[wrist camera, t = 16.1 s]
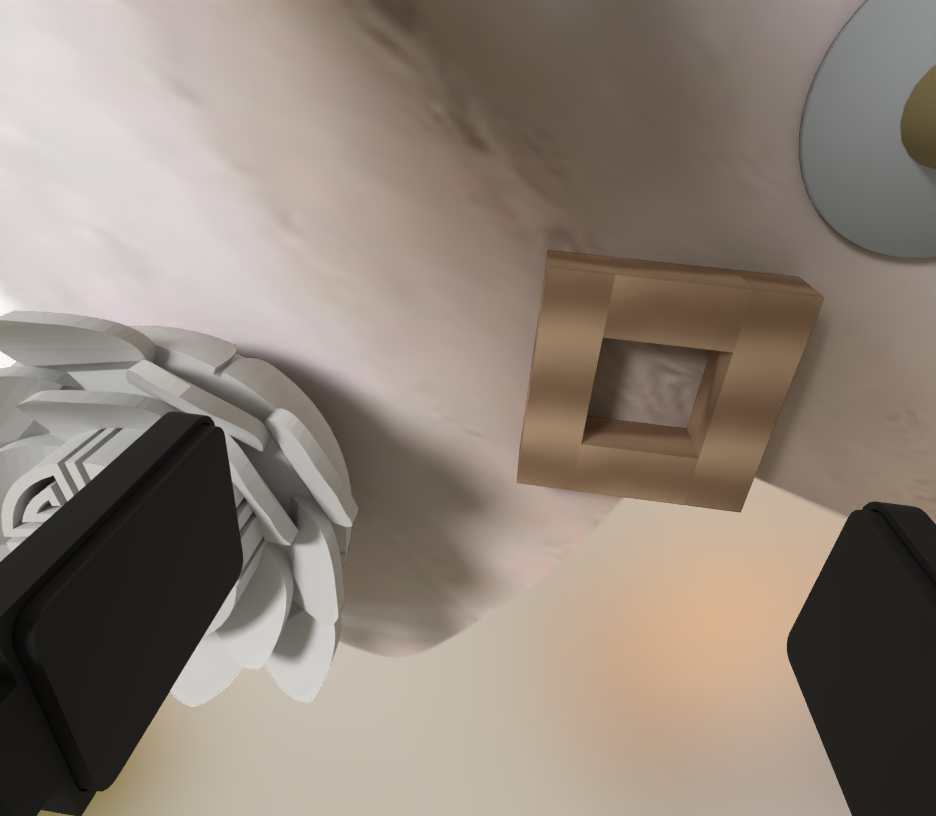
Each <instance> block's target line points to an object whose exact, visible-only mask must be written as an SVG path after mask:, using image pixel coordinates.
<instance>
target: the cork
mask: <svg viewBox="0 0 936 816" xmlns="http://www.w3.org/2000/svg"><path fill="white" fill-rule="evenodd" d="M900 130H901V141H902V144H903V145H904V147H905V149H906V151H907V153H908V155H909V156H910V157H911V158H912V159H914V160H915V161H916V162H918V163H919V164H920V165H922V166H926V167H929V168H933V169H936V65H934V66H933V67H931V68H930V69H929V70H928V72H927V73H926V74H925V75H924V76H923V77H922V78H921V79H920V81H919V82H918V83H917V84H916V85H915V87H914V88H913V90H912V92H911V94H910V96H909V98H908V100H907V101H906V103H905V105H904V110H903V114H902V118H901V122H900Z"/></svg>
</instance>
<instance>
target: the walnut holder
mask: <svg viewBox="0 0 936 816" xmlns="http://www.w3.org/2000/svg"><path fill="white" fill-rule="evenodd" d="M823 300H824V297H823V296H822V295H820V294H819V293H818V292H817V291H816V290H814V289H813V288H812V287H811V286H810V285H808V284H807V283H806V282H805V281H804V280H802V279H801V278H800V277H795V276H786V275H776V274H767V273H757V272H748V271H739V270H729V269H720V268H710V267H701V266H691V265H682V264H673V263H663V262H654V261H644V260H635V259H626V258H616V257H607V256H597V255H588V254H578V253H569V252H560V251H550V250H548V254H547V261H546V268H545V275H544V282H543V289H542V296H541V303H540V310H539V317H538V324H537V331H536V338H535V345H534V352H533V359H532V366H531V373H530V380H529V387H528V394H527V401H526V408H525V415H524V422H523V429H522V436H521V443H520V450H519V461H518V474H517V483H521V484H528V485H536V486H544V487H551V488H559V489H566V490H574V491H582V492H589V493H597V494H604V495H612V496H619V497H627V498H635V499H642V500H650V501H658V502H666V503H673V504H680V505H688V506H695V507H703V508H711V509H719V510H726V511H733V512H741V510H742V508H743V505H744V502H745V500H746V497H747V495H748V492H749V490H750V487H751V485H752V482H753V479H754V477H755V474H756V472H757V469H758V467H759V464H760V461H761V459H762V456H763V454H764V451H765V449H766V446H767V443H768V441H769V438H770V436H771V433H772V431H773V428H774V426H775V423H776V420H777V418H778V415H779V413H780V410H781V408H782V405H783V402H784V400H785V397H786V395H787V392H788V390H789V387H790V384H791V382H792V379H793V377H794V374H795V372H796V369H797V367H798V364H799V361H800V359H801V356H802V354H803V351H804V349H805V346H806V343H807V341H808V338H809V336H810V333H811V331H812V328H813V325H814V323H815V320H816V318H817V315H818V313H819V310H820V307H821V305H822V302H823ZM603 338H611V339H620V340H629V341H637V342H646V343H655V344H664V345H672V346H681V347H690V348H698V349H707V350H711V351H710V354H709V358H708V361H707V364H706V368H705V371H704V374H703V377H702V381H701V384H700V387H699V391H698V394H697V397H696V400H695V404H694V407H693V410H692V414H691V417H690V420H689V423H688V427H687V429H685V428H677V427H669V426H661V425H653V424H645V423H637V422H629V421H621V420H612V419H604V418H596V417H588V416H587V413H588V408H589V403H590V398H591V393H592V388H593V383H594V378H595V373H596V369H597V364H598V359H599V354H600V349H601V344H602V339H603Z"/></svg>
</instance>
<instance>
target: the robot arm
mask: <svg viewBox="0 0 936 816" xmlns="http://www.w3.org/2000/svg"><path fill="white" fill-rule="evenodd" d="M242 566H243V550H242V543H241V537H240V530H239V524H238V517H237V511H236V504H235V498H234V491H233V484H232V478H231V471H230V465H229V458H228V452H227V445H226V439H225V434H224V431H223V429H222V428H221V427H218V426H215V424H214V421H213V420H212V418H211V417H209V416H207V415H199V414H191V413H183V412H175V411H172V412H168V413H166V414H165V415H163V416H162V417H161V418H160V419H159V420H158V421H157V422H156V423H154V424H153V425H152V426H151V427H150V428H149V429H148V430H147V431H146V432H144V433H143V434H142V435H141V436H140V437H139V438H138V439H137V440H136V441H134V442H133V443H132V444H131V445H130V446H129V447H128V448H127V449H125V450H124V451H123V452H122V453H121V454H120V455H119V456H118V457H117V458H115V459H114V460H113V461H112V462H111V463H110V464H109V465H108V466H107V467H105V468H104V469H103V470H102V471H101V472H100V473H99V474H98V475H97V476H95V477H94V478H93V479H92V480H91V481H90V482H89V483H88V484H86V485H85V486H84V487H83V488H82V489H81V490H80V491H79V492H78V493H76V494H75V495H74V496H73V497H72V498H71V499H70V500H69V501H68V502H66V503H65V504H64V505H63V506H62V507H61V508H60V509H59V510H57V511H56V512H55V513H54V514H53V515H52V516H51V517H50V518H49V519H47V520H46V521H45V522H44V523H43V524H42V525H41V526H40V527H39V528H37V529H36V530H35V531H34V532H33V533H32V534H31V535H30V536H28V537H27V538H26V539H25V540H24V541H23V542H22V543H21V544H20V545H18V546H17V547H16V548H15V549H14V550H13V551H12V552H11V553H10V554H8V555H7V556H6V557H5V558H4V559H3V560H2V561H1V562H0V816H37V814H38V813H39V812H40V810H45V811H51V812H57V813H62V814H68V815H74V816H82V814H83V813H84V811H85V809H86V808H87V806H88V805H89V803H90V802H91V800H92V798H93V797H94V795H95V793H96V792H97V791H104V790H106V789H108V788H109V787H110V786H111V785H112V784H113V782H114V781H115V780H116V778H117V776H118V775H119V773H120V772H121V770H122V769H123V767H124V766H125V764H126V762H127V761H128V759H129V757H130V756H131V754H132V752H133V751H134V749H135V747H136V746H137V744H138V743H139V741H140V739H141V738H142V736H143V734H144V733H145V731H146V729H147V727H148V726H149V725H150V723H151V721H152V719H153V718H154V716H155V715H156V713H157V711H158V709H159V708H160V706H161V705H162V703H163V702H164V700H165V698H166V697H167V695H168V693H169V692H170V690H171V688H172V687H173V685H174V684H175V682H176V680H177V679H178V677H179V675H180V674H181V672H182V670H183V669H184V667H185V666H186V664H187V662H188V661H189V659H190V657H191V656H192V654H193V652H194V651H195V649H196V647H197V646H198V644H199V643H200V641H201V639H202V638H203V636H204V634H205V633H206V631H207V629H208V628H209V626H210V625H211V623H212V621H213V620H214V618H215V616H216V615H217V613H218V611H219V610H220V608H221V606H222V605H223V603H224V602H225V600H226V598H227V597H228V595H229V593H230V592H231V590H232V588H233V587H234V585H235V584H236V582H237V580H238V578H239V576H240V573H241V571H242ZM787 653H788V658H789V661H790V664H791V666H792V669H793V671H794V674H795V676H796V679H797V681H798V684H799V686H800V689H801V691H802V693H803V696H804V698H805V701H806V703H807V706H808V708H809V711H810V713H811V716H812V718H813V721H814V723H815V725H816V728H817V730H818V733H819V735H820V738H821V740H822V743H823V745H824V748H825V750H826V753H827V755H828V757H829V760H830V762H831V765H832V767H833V770H834V772H835V775H836V777H837V780H838V782H839V785H840V787H841V789H842V791H843V794H844V797H845V799H846V802H847V804H848V807H849V809H850V812H851V814H852V816H936V524H935V523H934V522H933V521H932V520H931V519H930V517H929V516H928V515H927V514H926V513H925V512H924V511H923V510H921V509H920V508H917V507H913V506H906V505H898V504H890V503H882V502H870V503H868V504H867V505H865V506H864V507H863V509H862V510H855V511H854V512H852V513H851V514H850V516H849V517H848V519H847V521H846V523H845V525H844V527H843V529H842V531H841V533H840V535H839V537H838V539H837V541H836V543H835V545H834V547H833V549H832V551H831V552H830V555H829V556H828V559H827V560H826V562H825V564H824V566H823V568H822V571H821V572H820V575H819V576H818V578H817V580H816V582H815V584H814V586H813V588H812V590H811V592H810V594H809V596H808V598H807V600H806V602H805V604H804V606H803V608H802V610H801V612H800V614H799V615H798V617H797V619H796V621H795V624H794V625H793V628H792V629H791V631H790V633H789V636H788V641H787Z"/></svg>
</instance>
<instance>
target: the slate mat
mask: <svg viewBox="0 0 936 816" xmlns="http://www.w3.org/2000/svg"><path fill="white" fill-rule="evenodd" d="M934 65H936V0H866V1H865V2H864V3H863V5H862V6H861V7H860V8H859V9H858V10H857V11H856V12H855V13H854V14H853V16H852V17H851V18H850V20H849V21H848V22H847V23H846V25H845V26H844V27H843V28H842V30H841V31H840V32H839V34H838V35H837V37H836V39H835V40H834V42H833V43H832V45H831V46H830V48H829V49H828V51H827V53H826V54H825V56H824V58H823V60H822V62H821V64H820V66H819V68H818V70H817V72H816V74H815V77H814V79H813V82H812V85H811V87H810V90H809V92H808V95H807V98H806V102H805V106H804V110H803V114H802V119H801V126H800V134H799V160H800V167H801V174H802V178H803V181H804V184H805V188H806V191H807V193H808V195H809V197H810V199H811V201H812V203H813V205H814V207H815V208H816V210H817V211H818V213H819V214H820V215H821V217H822V218H823V219H824V220H825V221H826V222H827V223H828V224H829V225H830V226H831V227H832V228H833V229H834V230H835V231H836V232H838V233H839V234H841V235H842V236H843V237H845V238H846V239H848V240H849V241H851V242H853V243H855V244H857V245H859V246H861V247H863V248H865V249H867V250H870V251H873V252H877V253H880V254H883V255H888V256H894V257H900V258H931V257H936V169H933V168H929V167H926V166H922V165H920V164H919V163H918V162H916V161H915V160H914V159H912V158H911V157H910V156H909V155H908V153H907V151H906V149H905V147H904V145H903V144H902V141H901V130H900V122H901V118H902V114H903V110H904V105H905V103H906V101H907V100H908V98H909V96H910V94H911V92H912V90H913V88H914V87H915V85H916V84H917V83H918V82H919V81H920V79H921V78H922V77H923V76H924V75H925V74H926V73H927V72H928V70H929V69H930V68H931V67H933V66H934Z"/></svg>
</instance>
